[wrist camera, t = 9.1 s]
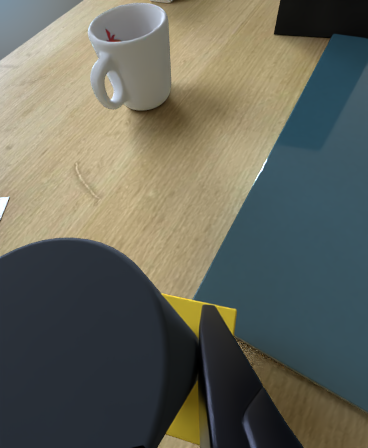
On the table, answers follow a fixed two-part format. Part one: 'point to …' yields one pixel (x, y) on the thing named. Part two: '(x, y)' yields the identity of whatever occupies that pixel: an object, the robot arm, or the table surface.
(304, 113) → the plate
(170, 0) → the multiport hub
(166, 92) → the cup
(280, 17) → the speaker
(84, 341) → the sponge wand
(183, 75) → the table surface
